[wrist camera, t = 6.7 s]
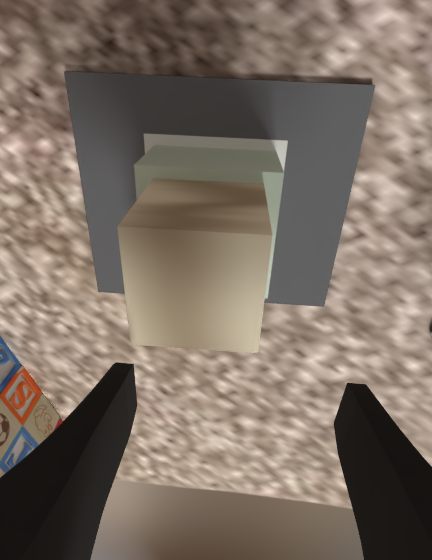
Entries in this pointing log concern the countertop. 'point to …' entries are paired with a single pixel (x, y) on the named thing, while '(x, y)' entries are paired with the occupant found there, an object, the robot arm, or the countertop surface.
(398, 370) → the countertop surface
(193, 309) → the birch block
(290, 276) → the mat
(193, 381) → the countertop surface
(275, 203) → the sage block
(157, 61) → the countertop surface
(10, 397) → the stack of blocks
